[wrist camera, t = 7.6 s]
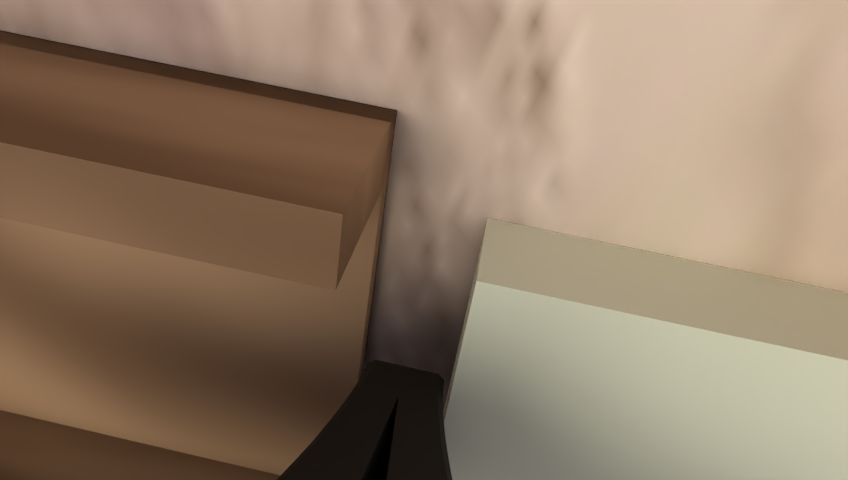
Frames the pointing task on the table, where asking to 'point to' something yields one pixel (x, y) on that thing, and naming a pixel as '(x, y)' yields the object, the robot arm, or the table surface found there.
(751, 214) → the table surface
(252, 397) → the slide box
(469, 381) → the cover slab
